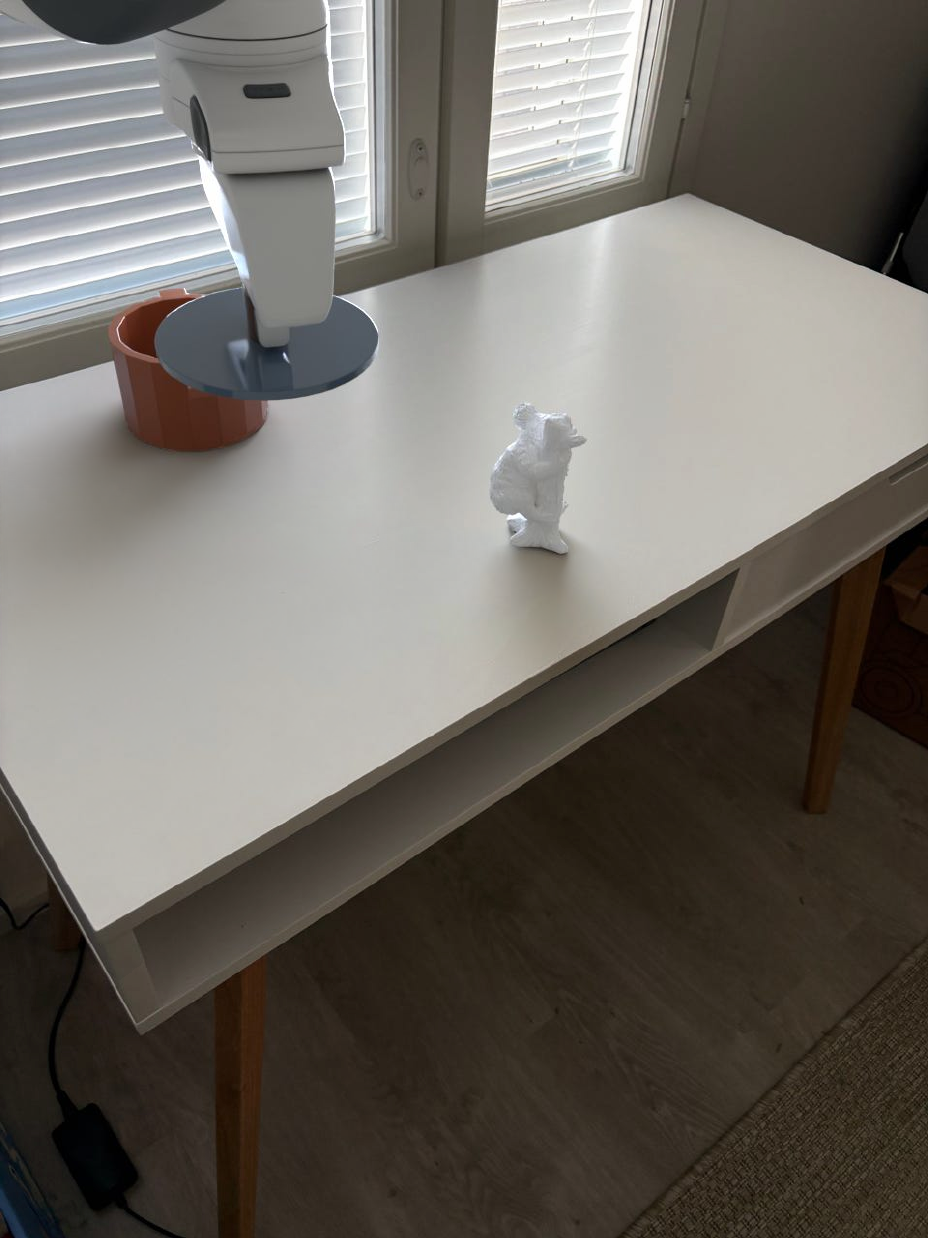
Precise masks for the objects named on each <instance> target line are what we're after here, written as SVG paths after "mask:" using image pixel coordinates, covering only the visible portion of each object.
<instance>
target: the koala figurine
mask: <svg viewBox="0 0 928 1238" xmlns="http://www.w3.org/2000/svg"><path fill="white" fill-rule="evenodd" d="M512 414H513V415H512V419H513V420H512V422H513V424H514V426H515V427H516V428H517V429H518V430H520V431H521V432H520V433H519V435H518V438H516V439H515V441H513V442H512V444H509V445H508V446H507V447H506V449H505V451H504V452H503V453H502V454H501V455H500V457H499V458H498V460H497V461H496V462H495V464H494V465H493V469H492V471H491V475H490V484H489V490H488V492H489V499H490V502H491V503H492V505H493V507H494V508H495V510H496V511H497V512H499V513H500V514H504V515H506V516H507V517H506V520H505V521H506V523H507V525H508V526H509V527H510V528H511V530H513V531H514V532H516V533H514V534H513V535H512V536H511V537H509V542H508V543H509V544H510V545H511V546H514V547H518V548H522V547H523V548H525V547H526V548H528V547H529V548H530V547H532V548H534V547H535V548H543V549H546V550H549V551H551V552H555V553H556V554H559V555H565V554H567V553H568V552H569V546H568V545H567V543H566V542H565V541H564V540H563V538H562V535H561V534H560V522H561V521H560V519H561V516H562V515H563V514H564V513H565V512H566V510H567V508H568V507H569V503H568V501H566V500H564V493H565V480H566V477H569V473H568V472H569V470H570V469H569V465H570V463H571V460H572V457H573V451H572V449H574V448H578V447H581V446H583V445H584V444H586V442H587V440H588V439H587V438H586V437H585V436H584V435H581V434H577V432H578V429H577V428H576V427H575V426H574V425H573V423H572V418H571V416H570V415H569V414H568V413H558V412H557V413H554V412H551V413H542V412H541V413H539V412H538V411H537V408H536V407H535V406H534V405H532V403H529V402H521V403H520V402H519V404H517V405H516V407H515V409H514V412H513V413H512Z"/></svg>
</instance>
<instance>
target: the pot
mask: <svg viewBox="0 0 928 1238" xmlns="http://www.w3.org/2000/svg"><path fill="white" fill-rule="evenodd" d="M157 293H158V296H157V297H154V298H150V299H147V300H143V301H141V302H136V303H134V304H132V305H131V306H129V307H127V308H126V309H124V310H122V311H121V312H118V313H117V314H116V315H115V316H114V318H113V320H112V321H111V323H110V324H109V326H108V327H107V334H108V339H109V343H110V344H109V345H110V349H111V355H112V359H113V364H114V368H115V374H116V378H117V384H118V388H119V393H120V398H121V403H122V408H123V415H124V418H125V423H126V426H127V428H128V430H129V431H130V432H131V434H132V435H134V436H135V437H136V438H137V439H139V440H140V441H142V442H144V443H145V444H148V445H150V446H152V447H156V448H159V449H163V450H168V451H175V452H204V451H212V450H216V449H221V448H225V447H229V446H231V445H234V444H237V443H239V442H242V441H243V440H245V439H247V438H249V437H250V436H252V435H253V434H255V433H256V432H257V431H258V430H259V429H260V428H261V427H262V426H263V424H264V423H265V420H266V419H267V414H268V408H269V401H257V400H241V399H232V398H226V397H221V396H216V395H212V394H209V393H205V392H202V391H199V390H197V389H194V388H191V387H189V386H187V385H185V384H183V383H181V382H180V381H178V380H177V379H175V378H174V377H172V376H171V375H170V374H169V373H168V372H167V371H166V370H165V369H164V368H163V367H162V365H161V364H160V362H159V360H158V357H157V355H156V349H155V335H156V332H157V330H158V327H159V326H160V324H161V323H162V321H163V320H164V319H165V318H166V317H167V316H168V315H169V314H170V313H172V312H173V311H175V310H176V309H177V308H179V307H181V306H183V305H184V304H186V303H188V302H190V301H193V300H195V299H197V298H200V297H203V296H206V295H207V294H199V293H187V291H186V288H185V287H180V288H170V289H160V290H157Z"/></svg>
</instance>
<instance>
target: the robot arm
mask: <svg viewBox="0 0 928 1238" xmlns="http://www.w3.org/2000/svg"><path fill="white" fill-rule="evenodd" d="M0 15H2V16H4V17H7V18H9V19H12V20H14V21H17V22H19V23H21V24H25V25H27V26H30V27H33V28H35V29H38V30H39V31H43V32H45V33H48V34H50V35H53V36H55V37H58V38H61V39H65V40H68V41H70V42H75V43H79V44H87V45H101V46H111V45H114V46H115V45H120V44H126V43H129V42H133V41H136V40H140V39H143V38H146V37H148V36H151V35H152V41H153V48H154V55H155V62H156V70H157V78H158V85H159V86H158V87H159V93H160V98H161V99H160V100H161V107H162V113H163V117H164V119H165V120H166V122H167V123H168V124H170V126H172V127H173V128H175V129H177V130H179V131H180V132H182V133H184V135H185V136H186V137H187V138H188V139H189V140H190V141H191V149H192V151H193V152H194V154H195V155H197V156H198V157H199V167H200V175H201V179H202V180H201V181H202V186H203V190H204V192H205V195H206V198H207V200H208V202H209V204H210V208H211V209H212V212H213V213H214V216H215V219H216V220H217V223H218V226H219V228H220V230H221V232H222V235H223V237H224V240H225V242H226V244H227V246H228V249H229V251H230V254H231V256H232V259H233V260H234V263H235V265H236V268H237V270H238V273H239V277H240V281H241V288H242V292H243V301H244V305H245V295H244V285H243V282H244V284H245V287H246V289H247V291H248V294H249V296H250V298H251V301H252V303H253V305H254V308H255V310H254V319H255V330H256V333H257V336H258V339H259V341H260V343H261V345H262V346H264V347H266V348H268V347H277V346H284V345H286V344H287V343H288V342H289V340H290V334H289V327H298V326H306V325H314V324H319V323H322V322H324V321H325V319H326V318H327V316H328V313H329V310H330V307H331V304H332V298H333V295H334V282H335V261H336V260H335V259H336V258H335V257H336V227H337V226H336V224H337V223H336V219H337V218H336V216H337V215H336V214H337V206H336V205H337V204H336V202H337V201H336V187H335V179H334V175H333V171H332V168H337V167H342V166H343V165H344V164H345V162H346V132H345V125H344V122H343V119H342V116H341V111H340V108H339V106H338V102H337V99H336V96H335V92H334V75H333V74H334V72H333V71H334V70H333V63H332V58H331V23H330V22H331V21H330V20H331V19H330V9H329V5H328V0H0ZM245 307H246V305H245Z"/></svg>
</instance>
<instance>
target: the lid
mask: <svg viewBox="0 0 928 1238" xmlns="http://www.w3.org/2000/svg"><path fill="white" fill-rule="evenodd" d="M243 285H244V295H245V305H246V307H245V305H244V301H243V292H242V287H236V288H230V289H225V290H220V291H217V292H212V293H209V294H205V295H206V296H203V297H200V298H197V299H195V300H193V301H190V302H188V303H186V304H184V305H183V306H181V307H179V308H177V309H176V310H175V311H173V312H172V313H170V314H169V315H168V316H167V317H166V318H165V319H164V320H163V321H162V323H161V324H160V326H159V327H158V330H157V332H156V335H155V349H156V355H157V357H158V360H159V362H160V364H161V365H162V367H163V368H164V369H165V370H166V371H167V372H168V373H169V374H170V375H171V376H172V377H174V378H175V379H177V380H178V381H180V382H181V383H183V384H185V385H187V386H189V387H191V388H194V389H197V390H199V391H202V392H205V393H209V394H212V395H216V396H221V397H226V398H232V399H241V400H257V401H268V402H269V401H283V400H293V399H300V398H307V397H310V396H315V395H319V394H323V393H325V392H326V393H327V392H329V391H332V390H335V389H337V388H339V387H342V386H344V385H347V384H348V383H349V382H352V381H353V380H355V379H356V378H358V377H359V376H361V375H362V374H364V372H365V371H366V370H368V368H370V366H372V364H373V362H374V361H375V359H376V357H377V355H378V352H379V345H380V337H379V330H378V328H377V325H376V324H375V322H374V321H373V319H372V318H371V316H370V315H369V314H368V313H366V312H365V310H363V309H361V308H360V307H359V306H357V305H356V304H354V303H352V302H351V301H348V300H346V299H344V298H341V297H339V296H338V295H337V296H336V295H334V294H333V298H332V304H331V307H330V310H329V313H328V316H327V318H326V319H325V321H324V322H322V323H319V324H314V325H306V326H298V327H289V334H290V340H289V342H288V343H287V344H286V345H284V346H277V347H268V348H266V347H264V346H262V345H261V343H260V341H259V339H258V336H257V333H256V330H255V319H254V310H255V308H254V305H253V303H252V301H251V298H250V296H249V294H248V291H247V289H246V287H245V284H244V282H243Z"/></svg>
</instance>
